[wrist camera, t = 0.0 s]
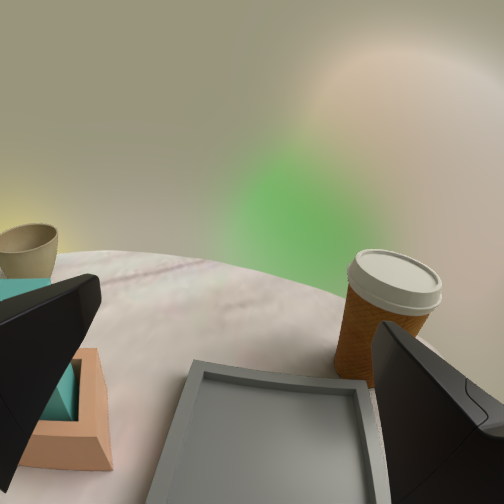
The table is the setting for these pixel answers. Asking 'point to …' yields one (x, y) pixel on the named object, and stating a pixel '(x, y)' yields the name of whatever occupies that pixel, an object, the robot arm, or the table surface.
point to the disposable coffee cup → (382, 305)
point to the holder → (76, 425)
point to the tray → (270, 441)
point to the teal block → (67, 390)
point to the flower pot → (28, 251)
